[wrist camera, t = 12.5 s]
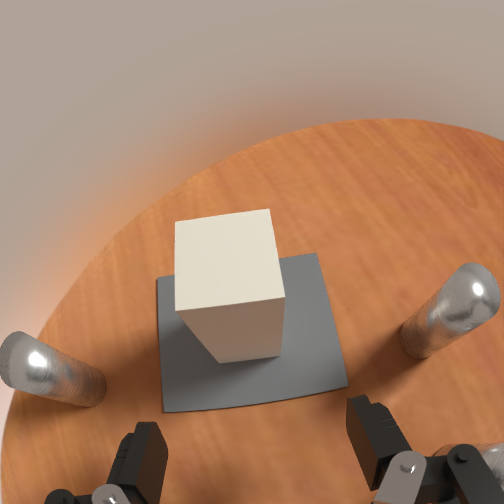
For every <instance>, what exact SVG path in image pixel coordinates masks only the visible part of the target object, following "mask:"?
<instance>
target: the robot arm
mask: <svg viewBox="0 0 504 504" xmlns="http://www.w3.org/2000/svg"><path fill="white" fill-rule="evenodd" d="M346 428H347V433H348V436H349V439H350V441H351V444H352V446H353V449H354V451H355V454H356V456H357V459H358V461H359V464H360V466H361V469H362V471H363V474H364V476H365V479H366V481H367V484H368V486H369V489H370V491H374V490H377V489H378V492H377V494H376V496H375V498H374V500H373V502H372V503H371V504H426V503H432V504H504V491H503V489H502V487H501V486H500V484H499V483H498V481H497V479H496V478H495V476H494V474H493V473H492V471H491V470H490V468H489V466H488V465H487V463H486V462H485V460H484V459H483V457H482V455H481V454H480V452H479V451H478V449H477V448H476V447H474V446H472V445H469V444H459V445H456V446H454V447H453V448H452V449H451V450H450V451H449V452H448V455H441V456H434V457H425V456H423V455H422V454H420V453H418V452H416V451H413V450H412V449H411V447H410V445H409V444H408V442H407V440H406V439H405V437H404V435H403V433H402V432H401V430H400V428H399V427H398V425H397V423H396V422H395V420H394V418H393V416H392V415H391V413H390V411H389V410H388V408H386V407H385V406H384V405H382V404H381V403H379V402H378V403H374V404H371V403H370V401H369V399H368V397H367V396H366V395H365V394H363V395H359V396H355V397H351V398H348V399H347V411H346ZM167 460H168V448H167V444H166V442H165V440H164V438H163V436H162V433H161V431H160V429H159V427H158V425H157V423H156V422H138V423H137V425H136V428H135V431H134V433H128V434H127V435H126V436H125V437H124V438H123V439H122V441H121V443H120V446H119V449H118V451H117V454H116V458H115V460H114V463H113V465H112V468H111V471H110V474H109V477H108V480H107V483H106V484H105V485H102V486H100V487H98V488H97V489H96V490H95V491H94V492H93V494H91V495H82V496H73V495H72V493H71V492H69V491H68V490H65V489H57V490H54V491H52V492H51V493H50V494H49V495H48V496H47V498H46V501H45V503H44V504H159V502H160V496H161V491H162V486H163V480H164V475H165V470H166V465H167Z"/></svg>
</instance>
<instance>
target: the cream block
mask: <svg viewBox="0 0 504 504" xmlns="http://www.w3.org/2000/svg"><path fill="white" fill-rule="evenodd" d="M284 308H285V292H284V287H283V281H282V276H281V270H280V264H279V259H278V254H277V248H276V243H275V237H274V232H273V227H272V221H271V216H270V211H269V209H263V210H255V211H248V212H240V213H233V214H226V215H219V216H212V217H205V218H199V219H192V220H185V221H179V222H175V311H176V312H177V314H178V315H179V316H180V317H181V319H182V320H183V321H184V322H185V324H186V325H187V326H188V327H189V328H190V330H191V331H192V332H193V333H194V334H195V336H196V337H197V338H198V339H199V340H200V342H201V343H202V344H203V345H204V346H205V348H206V349H207V350H208V351H209V352H210V353H211V355H212V356H213V357H214V358H215V359H216V360H217V361H218V363H228V362H237V361H246V360H254V359H261V358H269V357H276V356H281V345H282V333H283V321H284Z"/></svg>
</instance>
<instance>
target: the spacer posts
mask: <svg viewBox="0 0 504 504" xmlns="http://www.w3.org/2000/svg"><path fill="white" fill-rule="evenodd" d="M500 299H501V298H500V290H499V286H498V284H497V281H496V279H495V278H494V276H493V275H492V274H491V272H490V271H489V270H488V269H486V268H485V267H483V266H482V265H480V264H477V263H466V264H464V265H462V266H461V267H459V269H458V270H457V271H456V272H455V273H454V274H453V275H452V276H451V277H450V278H449V279H448V280H447V281H446V282H445V283H444V284H443V285H442V286H441V288H440V289H439V290H438V291H437V292H436V293H435V294H434V295H433V296H432V297H431V298H430V299H429V300H428V301H427V302H426V303H424V304H423V305H422V306H421V307H420V308H419V309H418V310H417V311H416V312H415V313H414V314H413V315H412V316H411V317H410V318H409V319H408V320H407V321H406V322H405V323H404V324H403V326H402V328H401V331H400V342H401V345H402V347H403V349H404V350H405V352H406V353H407V354H408V355H410V356H411V357H414V358H417V359H423V358H426V357H429V356H430V355H432V354H434V353H436V352H437V351H439V350H441V349H443V348H444V347H446V346H448V345H450V344H451V343H453V342H455V341H456V340H458V339H460V338H461V337H463V336H464V335H466V334H468V333H469V332H471V331H472V330H474V329H475V328H477V327H479V326H480V325H482V324H483V323H485V322H486V321H488V320H489V319H490V318H492V317H493V316H494V315H495V314H496V313H497V311H498V309H499V306H500ZM0 376H1V378H2V380H3V381H4V382H5V384H7V385H8V386H9V387H11V388H14V389H17V390H20V391H24V392H27V393H31V394H34V395H38V396H42V397H45V398H49V399H53V400H57V401H61V402H66V403H70V404H75V405H79V406H84V407H94V406H96V405H98V404H99V403H100V402H101V401H102V399H103V398H104V395H105V392H106V382H105V378H104V376H103V374H102V373H101V372H100V370H98V369H97V368H96V367H94V366H91V365H89V364H87V363H84V362H82V361H80V360H78V359H76V358H73V357H71V356H69V355H67V354H65V353H63V352H61V351H59V350H57V349H55V348H53V347H51V346H49V345H47V344H45V343H43V342H41V341H39V340H37V339H35V338H33V337H31V336H30V335H28V334H26V333H24V332H21V331H17V332H13V333H11V334H10V335H9V336H8V337H7V338H6V339H5V340H4V342H3V343H2V346H1V348H0ZM456 445H459V444H449V445H446V446H444V447H442V448H440V449H439V450H438V451H437V452H436V453H435V454H434V455H433V457H434V456H441V455H448V452H449V451H450V450H451V449H452V448H453V447H454V446H456ZM469 445H472V446H474V447H476V448H477V449H478V451H479V452H480V454H481V455H482V457H483V459H484V460H485V462H486V463H487V465H488V466H489V468H490V470H491V471H492V473H493V474H494V476H495V478H496V479H497V481H498V483H499V484H500V486H501V487H502V489H503V491H504V442H503V443H487V444H469Z"/></svg>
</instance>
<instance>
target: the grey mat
mask: <svg viewBox="0 0 504 504" xmlns="http://www.w3.org/2000/svg"><path fill="white" fill-rule="evenodd" d="M279 264H280V270H281V276H282V281H283V287H284V292H285V308H284V321H283V333H282V345H281V356H276V357H269V358H261V359H254V360H246V361H237V362H228V363H218V361H217V360H216V359H215V358H214V357H213V356H212V355H211V353H210V352H209V351H208V350H207V349H206V348H205V346H204V345H203V344H202V343H201V342H200V340H199V339H198V338H197V337H196V336H195V334H194V333H193V332H192V331H191V330H190V328H189V327H188V326H187V325H186V324H185V322H184V321H183V320H182V319H181V317H180V316H179V315H178V314H177V312H176V311H175V275H170V276H163V277H158V325H159V348H160V366H161V381H162V393H163V405H164V412H183V411H197V410H209V409H219V408H229V407H237V406H245V405H252V404H259V403H266V402H272V401H279V400H284V399H290V398H296V397H301V396H306V395H311V394H316V393H321V392H325V391H330V390H334V389H339V388H343V387H347V386H349V384H348V379H347V374H346V370H345V365H344V361H343V356H342V352H341V348H340V343H339V339H338V335H337V331H336V327H335V322H334V318H333V314H332V310H331V306H330V302H329V299H328V295H327V291H326V287H325V283H324V279H323V276H322V272H321V268H320V265H319V261H318V257H317V254H316V253H311V254H305V255H299V256H292V257H286V258H280V259H279Z"/></svg>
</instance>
